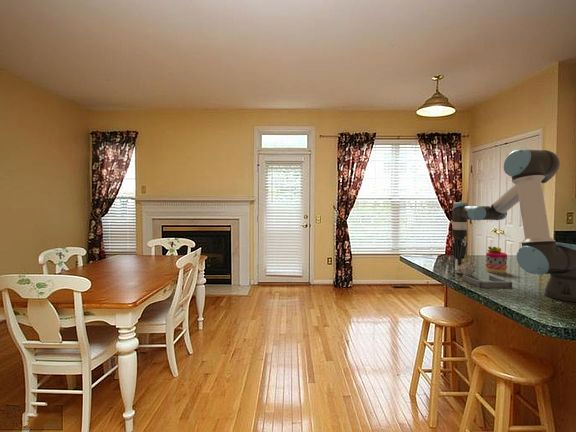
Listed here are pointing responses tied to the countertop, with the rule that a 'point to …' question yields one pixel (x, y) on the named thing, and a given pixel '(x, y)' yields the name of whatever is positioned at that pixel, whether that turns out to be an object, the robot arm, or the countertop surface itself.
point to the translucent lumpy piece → (466, 268)
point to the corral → (496, 282)
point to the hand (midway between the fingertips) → (458, 270)
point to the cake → (496, 260)
